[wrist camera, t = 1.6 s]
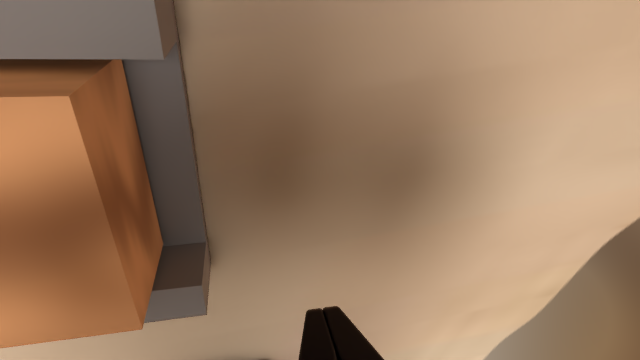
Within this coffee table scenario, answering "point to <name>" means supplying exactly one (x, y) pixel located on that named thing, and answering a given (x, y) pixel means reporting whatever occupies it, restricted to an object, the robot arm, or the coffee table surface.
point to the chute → (150, 115)
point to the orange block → (72, 203)
